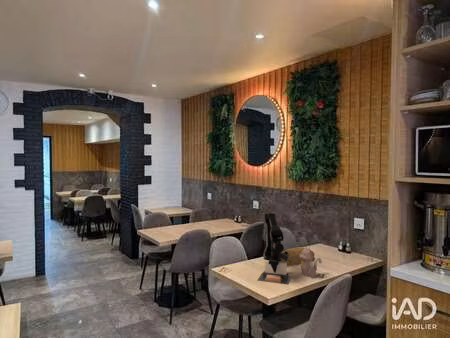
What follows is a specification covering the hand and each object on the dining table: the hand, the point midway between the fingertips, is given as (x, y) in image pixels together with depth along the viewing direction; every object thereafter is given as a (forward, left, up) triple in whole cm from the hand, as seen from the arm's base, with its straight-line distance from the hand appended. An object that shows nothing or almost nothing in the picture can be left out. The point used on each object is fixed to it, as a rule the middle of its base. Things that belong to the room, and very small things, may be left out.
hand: (275, 271), depth 208 cm
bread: (-41, +9, -5) cm, 42 cm away
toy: (-14, +22, -5) cm, 26 cm away
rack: (+3, 0, -4) cm, 5 cm away
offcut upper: (+8, 0, -2) cm, 8 cm away
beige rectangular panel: (0, 0, -4) cm, 4 cm away
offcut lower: (+8, 0, -4) cm, 9 cm away
